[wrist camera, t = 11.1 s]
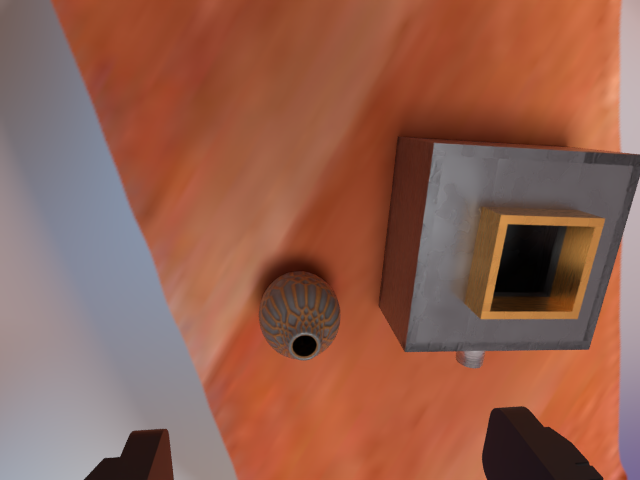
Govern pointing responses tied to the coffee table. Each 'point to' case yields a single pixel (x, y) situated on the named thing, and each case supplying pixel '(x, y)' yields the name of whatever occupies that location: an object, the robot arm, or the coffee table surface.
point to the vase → (299, 315)
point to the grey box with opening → (501, 244)
